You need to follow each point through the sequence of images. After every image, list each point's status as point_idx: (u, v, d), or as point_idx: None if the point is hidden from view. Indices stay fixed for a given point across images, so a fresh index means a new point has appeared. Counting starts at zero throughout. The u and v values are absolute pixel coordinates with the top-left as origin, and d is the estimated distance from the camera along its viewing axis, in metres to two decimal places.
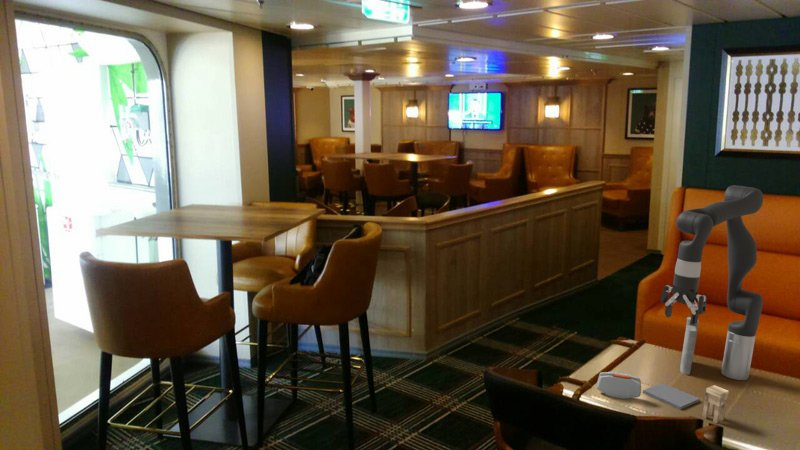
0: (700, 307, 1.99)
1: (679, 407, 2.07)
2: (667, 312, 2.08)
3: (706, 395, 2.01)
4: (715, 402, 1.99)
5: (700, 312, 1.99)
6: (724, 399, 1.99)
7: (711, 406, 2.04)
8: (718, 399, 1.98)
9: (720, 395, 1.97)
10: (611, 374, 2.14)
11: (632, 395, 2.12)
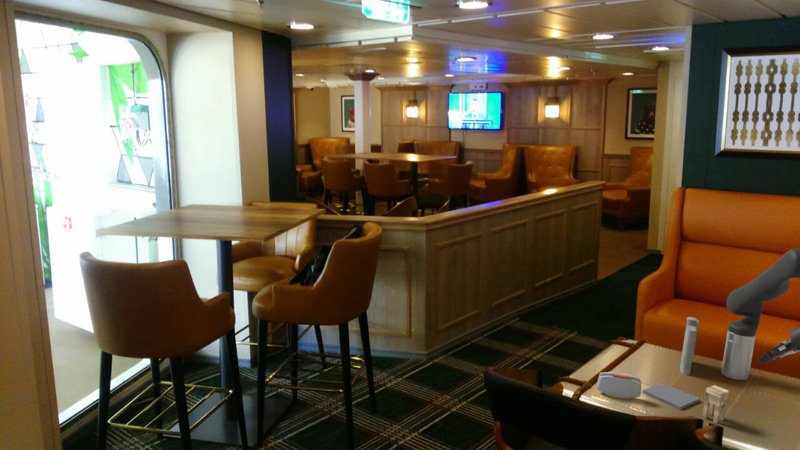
0: None
1: (679, 407, 2.07)
2: None
3: (706, 395, 2.01)
4: (715, 402, 1.99)
5: None
6: (724, 399, 1.99)
7: (711, 406, 2.04)
8: (718, 399, 1.98)
9: (720, 395, 1.97)
10: (611, 374, 2.14)
11: (632, 395, 2.12)
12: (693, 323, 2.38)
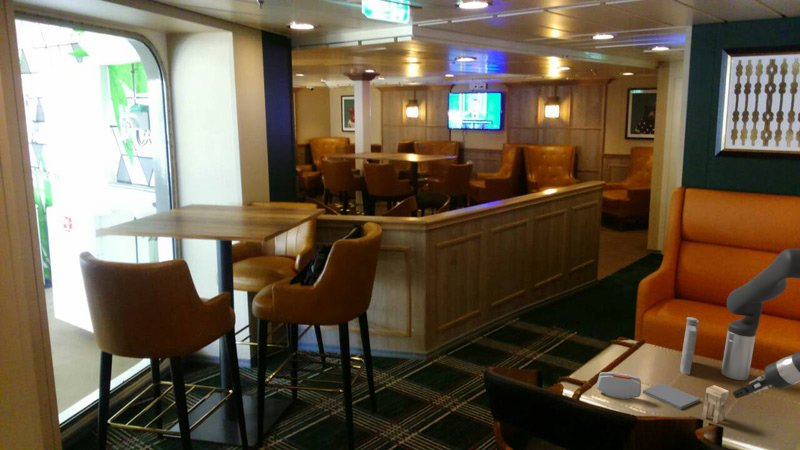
0: None
1: (679, 407, 2.07)
2: None
3: (706, 395, 2.01)
4: (715, 402, 1.99)
5: None
6: (724, 399, 1.99)
7: (711, 406, 2.04)
8: (718, 399, 1.98)
9: (720, 395, 1.97)
10: (611, 374, 2.14)
11: (632, 395, 2.12)
12: (693, 323, 2.38)
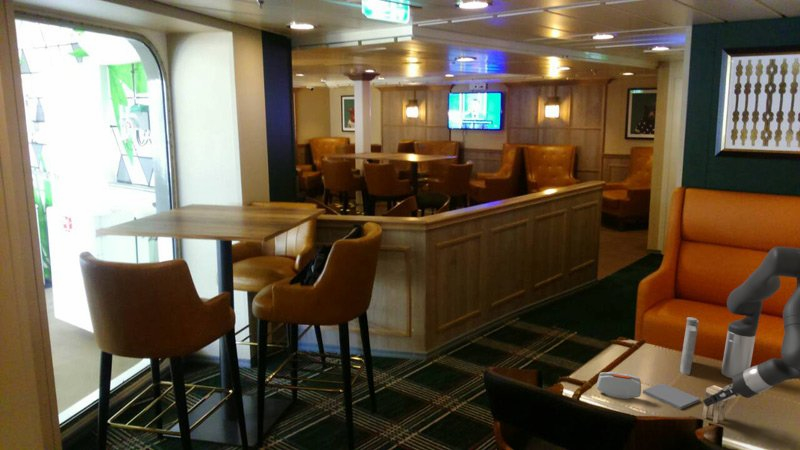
0: None
1: (679, 407, 2.07)
2: None
3: (706, 395, 2.01)
4: None
5: None
6: None
7: (711, 406, 2.04)
8: None
9: None
10: (611, 374, 2.14)
11: (632, 395, 2.12)
12: (693, 323, 2.38)
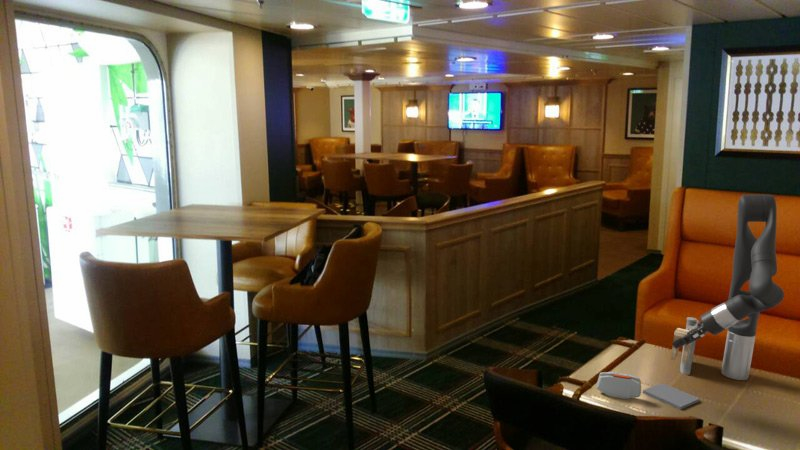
0: None
1: (679, 407, 2.07)
2: None
3: (674, 338, 2.10)
4: None
5: None
6: None
7: None
8: None
9: None
10: (611, 374, 2.14)
11: (632, 395, 2.12)
12: (693, 323, 2.38)
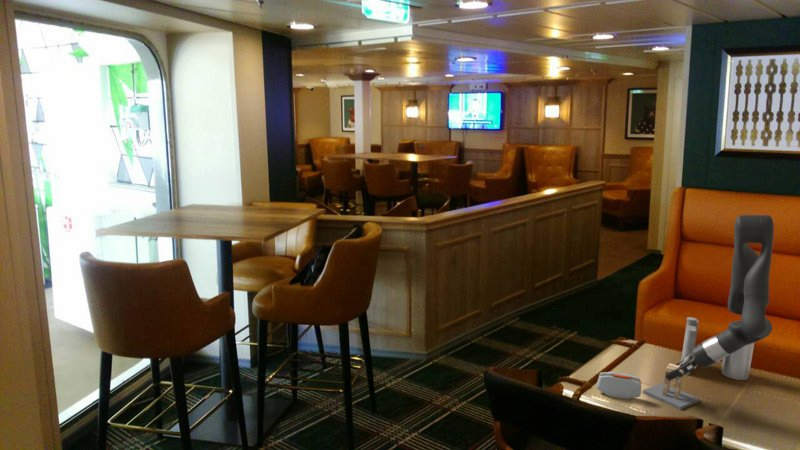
0: None
1: (679, 407, 2.07)
2: None
3: None
4: (675, 379, 2.12)
5: None
6: None
7: (668, 383, 2.17)
8: (678, 376, 2.11)
9: (680, 372, 2.11)
10: (611, 374, 2.14)
11: (632, 395, 2.12)
12: (693, 323, 2.38)
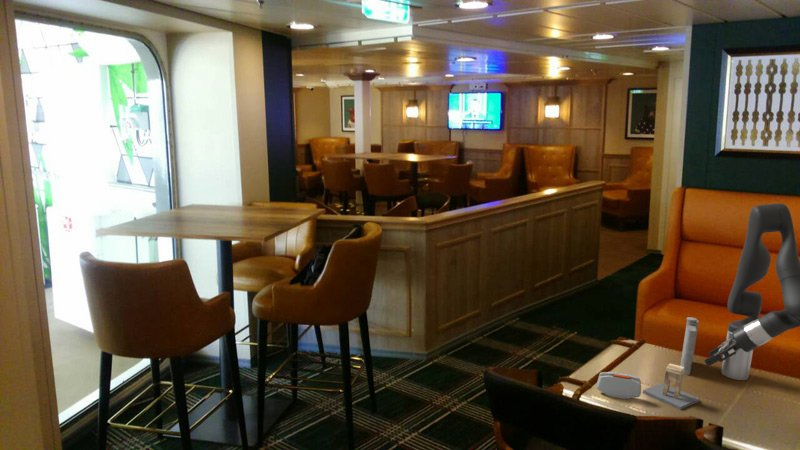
0: None
1: (679, 407, 2.07)
2: None
3: (666, 374, 2.14)
4: (675, 379, 2.12)
5: None
6: (682, 375, 2.14)
7: (668, 383, 2.17)
8: (678, 376, 2.11)
9: (680, 372, 2.11)
10: (611, 374, 2.14)
11: (632, 395, 2.12)
12: (693, 323, 2.38)
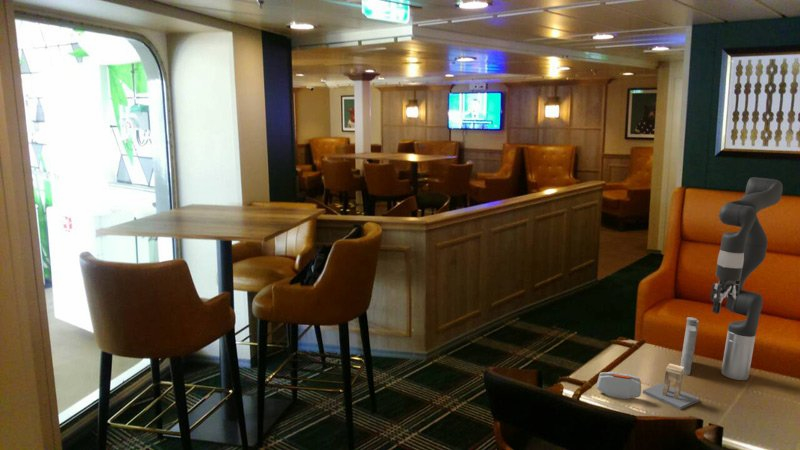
0: (738, 290, 2.11)
1: (679, 407, 2.07)
2: (719, 309, 2.06)
3: (666, 374, 2.14)
4: (675, 379, 2.12)
5: (738, 294, 2.11)
6: (682, 375, 2.14)
7: (668, 383, 2.17)
8: (678, 376, 2.11)
9: (680, 372, 2.11)
10: (611, 374, 2.14)
11: (632, 395, 2.12)
12: (693, 323, 2.38)
